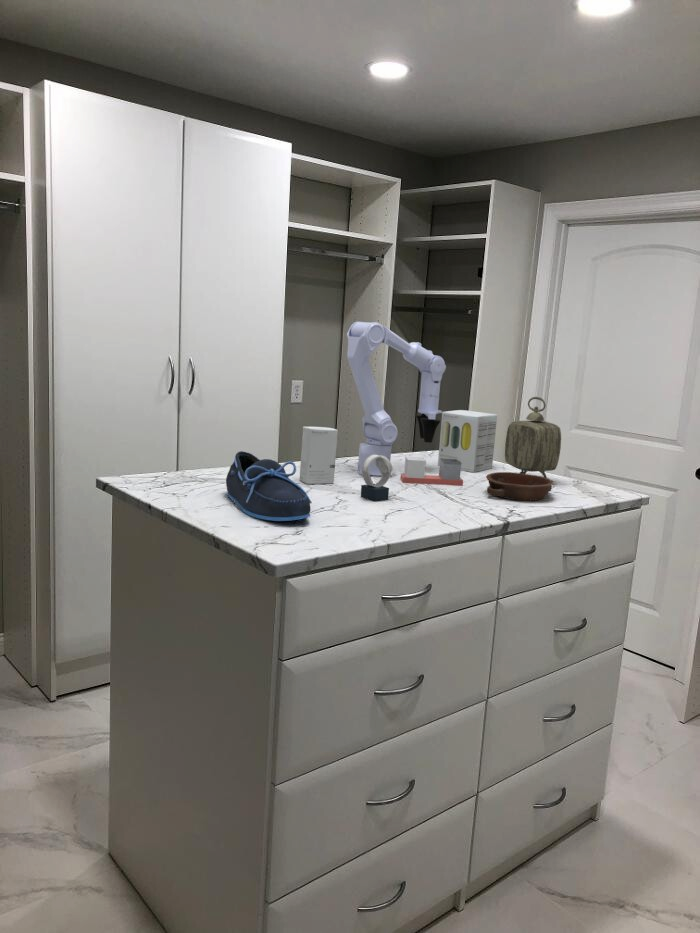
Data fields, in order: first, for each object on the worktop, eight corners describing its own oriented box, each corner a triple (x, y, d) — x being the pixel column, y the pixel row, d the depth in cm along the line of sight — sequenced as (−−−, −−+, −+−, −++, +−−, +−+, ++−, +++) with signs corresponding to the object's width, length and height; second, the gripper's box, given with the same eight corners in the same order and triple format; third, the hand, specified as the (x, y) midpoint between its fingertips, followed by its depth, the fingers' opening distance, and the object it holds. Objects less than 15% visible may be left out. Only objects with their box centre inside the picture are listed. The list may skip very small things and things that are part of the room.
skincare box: (306, 484, 201) (309, 429, 199) (298, 479, 207) (301, 425, 204) (335, 483, 205) (338, 429, 202) (327, 479, 210) (330, 425, 207)
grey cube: (442, 479, 212) (443, 461, 211) (438, 475, 217) (440, 458, 216) (459, 480, 213) (461, 462, 212) (456, 476, 218) (457, 459, 217)
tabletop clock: (556, 485, 222) (566, 400, 218) (533, 486, 218) (543, 399, 213) (521, 475, 234) (530, 394, 230) (499, 476, 230) (507, 394, 225)
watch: (393, 499, 190) (397, 456, 188) (369, 502, 185) (372, 458, 183) (378, 494, 195) (381, 452, 193) (354, 497, 189) (357, 454, 187)
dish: (465, 492, 206) (466, 473, 205) (523, 486, 218) (524, 469, 217) (511, 506, 192) (513, 487, 191) (570, 500, 204) (573, 482, 203)
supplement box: (436, 466, 241) (440, 411, 238) (456, 462, 252) (461, 409, 248) (473, 473, 233) (478, 416, 230) (493, 468, 244) (498, 414, 241)
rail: (402, 482, 212) (404, 459, 211) (400, 479, 217) (402, 456, 216) (462, 485, 213) (464, 462, 212) (459, 481, 218) (461, 459, 217)
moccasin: (269, 531, 155) (272, 474, 153) (198, 494, 183) (200, 446, 181) (326, 524, 163) (329, 470, 161) (250, 490, 191) (252, 444, 189)
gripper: (447, 398, 221) (443, 444, 223) (438, 393, 235) (434, 437, 237) (423, 397, 220) (419, 443, 223) (415, 392, 234) (412, 436, 237)
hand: (425, 440), depth 230 cm, fingers open, 7 cm apart
